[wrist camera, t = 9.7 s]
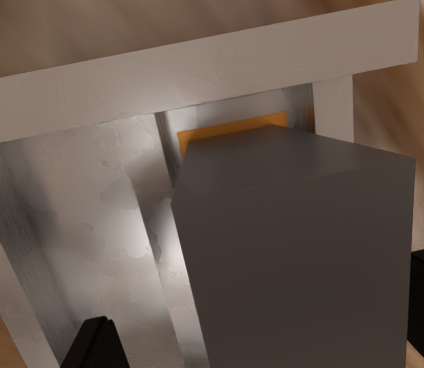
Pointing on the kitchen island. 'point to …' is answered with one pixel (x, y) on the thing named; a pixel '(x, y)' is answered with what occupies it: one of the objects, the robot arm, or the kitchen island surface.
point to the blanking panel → (297, 249)
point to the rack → (154, 168)
